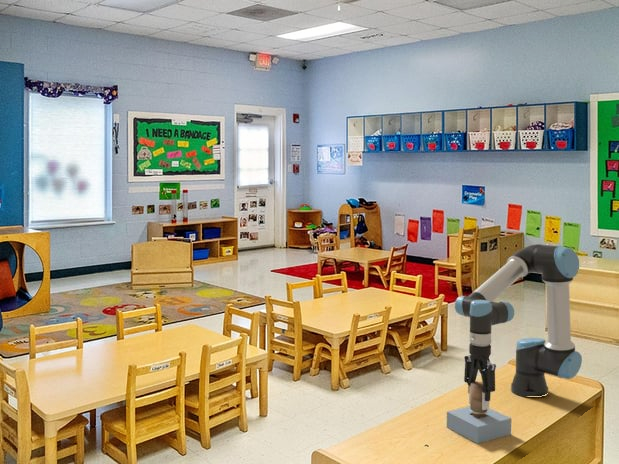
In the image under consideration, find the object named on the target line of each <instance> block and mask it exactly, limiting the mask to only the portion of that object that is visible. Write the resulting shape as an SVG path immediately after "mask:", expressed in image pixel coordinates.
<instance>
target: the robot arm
mask: <svg viewBox="0 0 619 464" xmlns="http://www.w3.org/2000/svg"><path fill="white" fill-rule="evenodd" d="M579 269H580V259H579V256H578V254H577V252H576V251H574V249H572V248H571V247H567V246H566V247H565V246H562V245H561V246H560V245H550V244H549V245H548V244H539V243H538V244H532V245H528V246H525V247H523V248H522V249H520V250H517V251H516V252H514V253H513V254H512V255H511V256H509V257H508V259H507V261H506V263H505V264H504V265H502V267H501V268H499V269H498V270H497V271H496V272H494V274H492V275H491V276H490V277H489V278H488V279H487V280H485V281H484V282H483V283H482V284H480V286H478V287H477V288H476V289H474V291H473V292H472V293H470V294H469V295H468V296H467V295H460V296H458V297H457V298H456V300H455V301H454V309H455V310H454V311H455V312H456V313H457V314H458V315H460V316H462V317H466V318H469V347H468V349H469V350H468V351H469V355H465V356H464V374H463V375H464V376H463V377H464V378H463V381H464V383H466V384H467V385H468V387H467V389H468V391H467V393H468V404H469V405H470V395H471V383H472V382H476V379H477V376H478V373H480V376H481V382H483V388H484V391H483V392H482V410H486V409H489V408H490V401H491V394H492V393H493V392H495V391H496V372H495V371H496V368H497V365H496V363H493V364H492V363H491V360H490V356H491V354H492V345H491V343H492V326H494V325H500V324H506V323H508V322H510V321H511V320H513V319H514V317H515V308H514V306H513V305H512V304H511V303H510V302H508V301H499V302H496V301H494V300H496V299H497V298H499V296H501V295H502V294H503V293H504V292H505V291H506V290H508V288H510V287H511V286H512V285H513V284H514V283H515V282H516V281H517V280H518V279H520V278H523V277H526V276H527V275H528V274H530V273H531V274H532V273H536V274H541V280H542V282H543V283H544V284H545V286H546V287H545V288H546V293H545V294H546V319H547V323H546V324H547V340H546V339H544V338H541V337H525V338H520V339H518V340H517V341H516V346H515V347H516V348H515V374H514V376H513V379H512V382H511V384H510V392H512V393H513V394H514V395H516V396H520V397H523V396H542V395H545V394H547V393H548V394H549V386H548V383H547V381H546V377H545V376H546V375H545V374H547V375H549V376H550V375H551V376H554V377H557V378H559V379H565V380H566V379H567V380H571V379H574V378H575V377H576V376H577V374H578V373H579V371H580V369H581V367H582V363H583V362H582V361H583V360H582V359H583V358H582V355H581V353H580V352H579V351H577V350H576V345H575V343H574V342H573V341H572V339H571V337H572V336H571V331H572V330H571V310H570V308H571V306H570V305H571V301H570V300H571V299H570V298H571V297H570V284H571V283H572V282H573V281H574V278H575V277H576V276H577V275H578V273H579ZM487 388H488V389H487Z"/></svg>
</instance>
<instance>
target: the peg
mask: <svg viewBox="0 0 619 464" xmlns="http://www.w3.org/2000/svg"><path fill="white" fill-rule="evenodd" d="M487 389H488V388H487ZM483 391H484V388H483V382H482V381H478V380H477V381H475V382H472V383H471V395H470V404H469V406H470V411H471V412H472V413H473V416H474V417H476V418H478V419H479V418H483V417H484V414H486V413H487V411H488V410H487V409H486V410H482V392H483Z"/></svg>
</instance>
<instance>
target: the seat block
mask: <svg viewBox="0 0 619 464" xmlns="http://www.w3.org/2000/svg"><path fill="white" fill-rule="evenodd" d="M487 410H488V411H487V413H486V414H484V417H483V418H479V419H478V418H476V417H474V416H473V413H472V412H471V411H470V405H468V406H464V407H461V408H456V409H452V410H448V411H446V428H448V429H449V430H450V431H452V432H455V433H456V434H458V435H460V436H462V437H465V438H466V439H467V440H470V441H472V442H473V443H475V444H477V445H478V444H481V443H485V442H488V441H493V440H496V439H499V438H502V437H503V438H504V437H507V436H510V435H512V418H511V417H509V416H508V415H505V414H504V413H500V412H499V411H496V410H494V409H492V408H490V407H489V409H487Z"/></svg>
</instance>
